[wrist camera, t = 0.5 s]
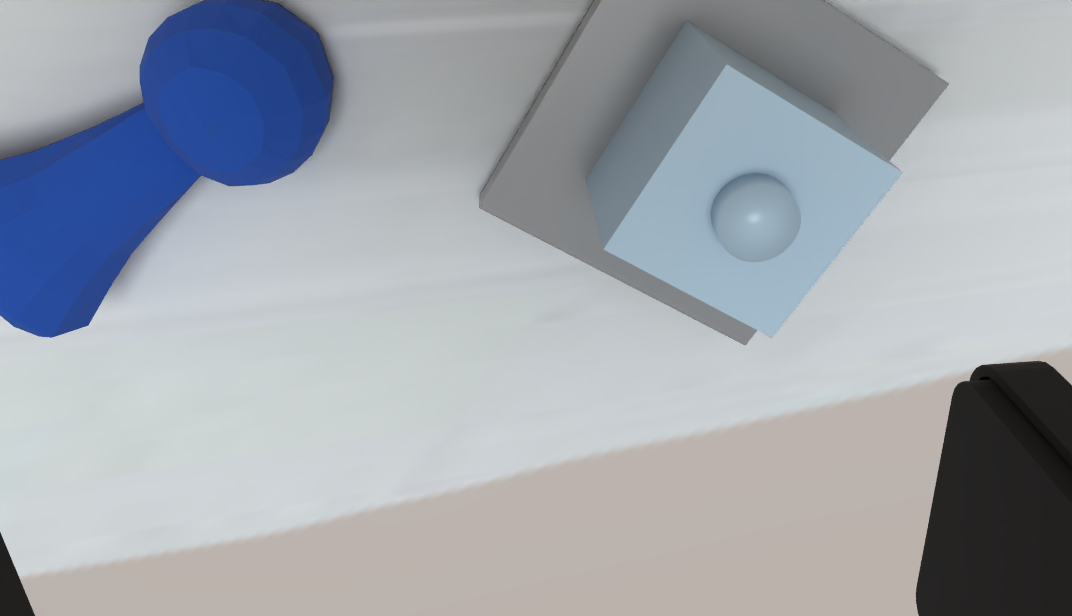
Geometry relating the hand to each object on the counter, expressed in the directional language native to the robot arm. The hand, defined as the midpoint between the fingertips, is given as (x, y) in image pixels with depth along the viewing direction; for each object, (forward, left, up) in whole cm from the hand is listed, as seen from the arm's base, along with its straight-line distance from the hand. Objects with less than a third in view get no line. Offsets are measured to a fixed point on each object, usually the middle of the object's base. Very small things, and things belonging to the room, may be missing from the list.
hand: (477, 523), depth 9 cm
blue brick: (0, +9, -25) cm, 26 cm away
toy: (+10, -8, -26) cm, 29 cm away
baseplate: (0, +9, -26) cm, 27 cm away
